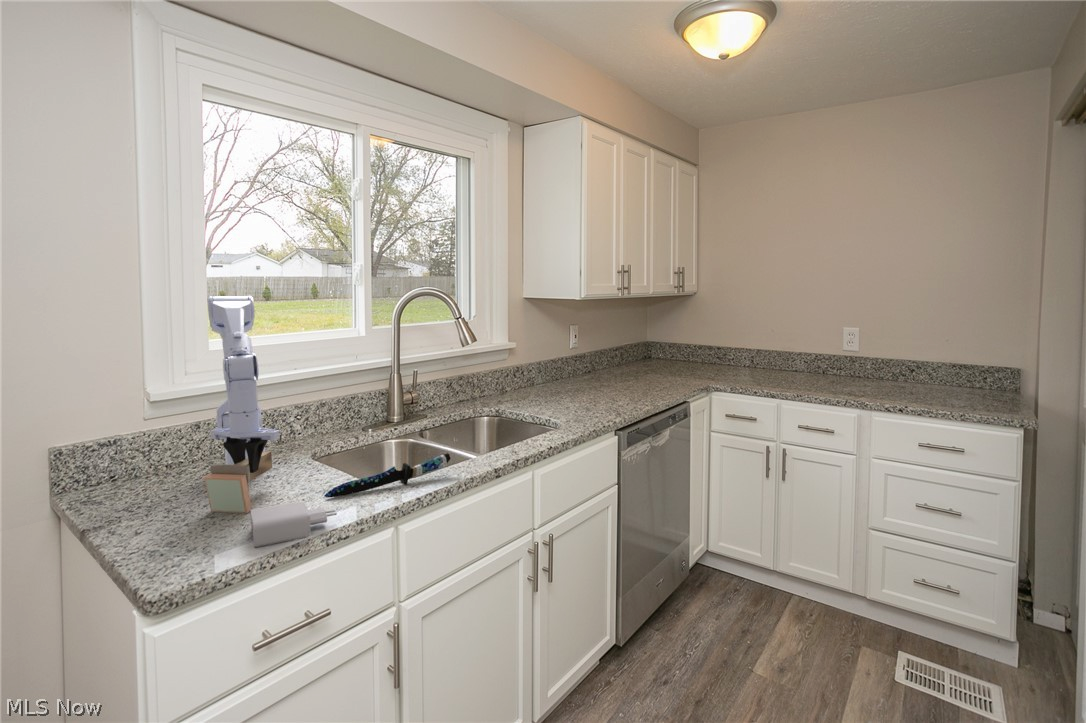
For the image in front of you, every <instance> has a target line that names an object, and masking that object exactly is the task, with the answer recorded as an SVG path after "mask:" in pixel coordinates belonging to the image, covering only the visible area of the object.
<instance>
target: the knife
mask: <svg viewBox="0 0 1086 723" xmlns="http://www.w3.org/2000/svg"><path fill="white" fill-rule="evenodd" d="M450 460H451V456H450V453H444V454H441V455H439V456H436V457H433V458H431V459H428V460H427V461H424V462H422V463H419V464H416V465H414V466H410V465H409V464H408V463H406V462H405V463H402V467H401V470H397V469H396V466H395V465H394V466H392V467H391V468H389V469H388V470H385V471H384V472H381V473H378V474H374V475H371V476H367V477H364V478H358V479H355V480H350V481H347V482H344V483H342V484H340V485H337V486H336V487H334V488H332V489H330V490H328V491H327V492H326V494H324V498H339V497H343V496H348V495H353V494H357V493H362V492H366V491H370V490H373V489H377V488H379V487H384V486H387V485H390V484H392V483H395V482H398V481H400V482H401V484H402V485H404V486H407V485H408V483H409V482H408V481H409V480H410V479H411V478H414V477H418V476H420V475H423V474H427V473H429V472H433V471H436V470H438V469H442V468H445V467H446V466H447V465H448V463H449V462H450Z"/></svg>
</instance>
